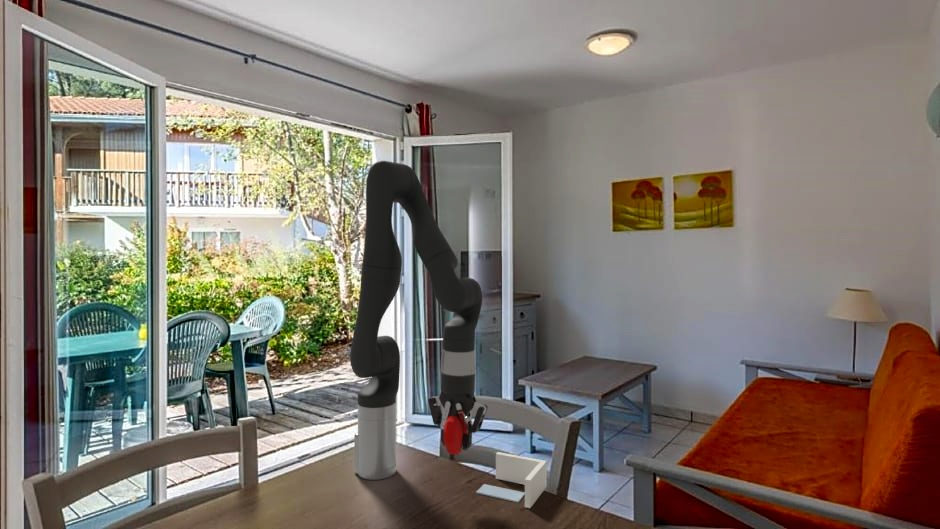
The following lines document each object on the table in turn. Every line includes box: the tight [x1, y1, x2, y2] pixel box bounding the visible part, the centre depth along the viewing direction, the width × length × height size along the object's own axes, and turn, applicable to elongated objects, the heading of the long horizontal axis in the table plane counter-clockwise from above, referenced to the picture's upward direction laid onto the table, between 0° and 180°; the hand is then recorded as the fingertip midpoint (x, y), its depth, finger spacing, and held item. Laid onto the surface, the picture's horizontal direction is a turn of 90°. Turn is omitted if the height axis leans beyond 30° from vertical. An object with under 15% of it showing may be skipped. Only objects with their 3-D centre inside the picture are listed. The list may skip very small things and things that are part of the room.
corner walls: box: [495, 451, 548, 509], centre depth 118 cm, size 12×11×6 cm
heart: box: [444, 416, 464, 456], centre depth 114 cm, size 12×4×10 cm, turn 169°
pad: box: [475, 483, 525, 503], centre depth 117 cm, size 10×4×1 cm, turn 64°
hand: (456, 446), depth 115 cm, fingers closed on heart, 4 cm apart
